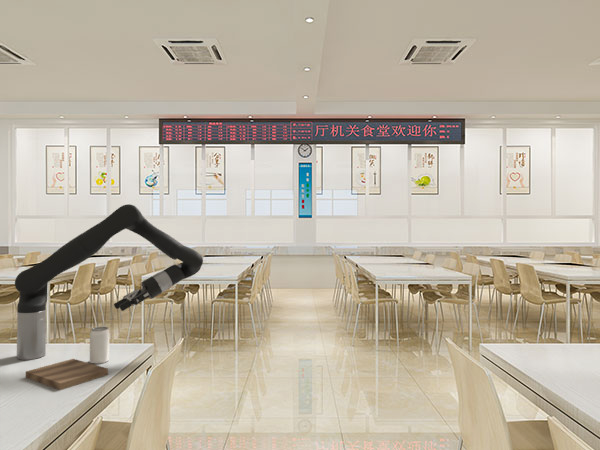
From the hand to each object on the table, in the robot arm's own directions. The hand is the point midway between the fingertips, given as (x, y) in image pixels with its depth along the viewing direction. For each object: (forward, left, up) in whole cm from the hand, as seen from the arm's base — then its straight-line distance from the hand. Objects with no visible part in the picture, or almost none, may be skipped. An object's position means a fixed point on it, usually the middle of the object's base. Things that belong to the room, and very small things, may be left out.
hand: (117, 307), depth 158 cm
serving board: (-1, -18, -20) cm, 27 cm away
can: (-6, -3, -20) cm, 21 cm away
